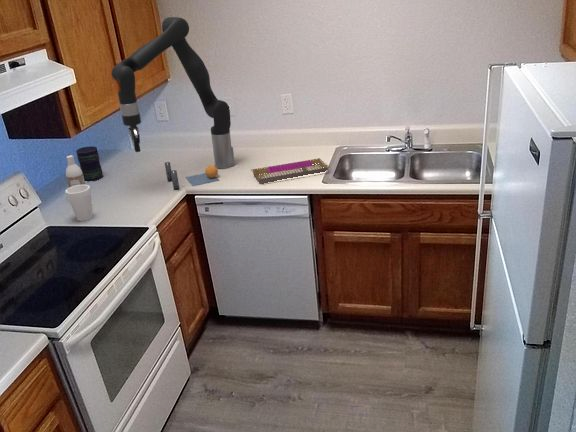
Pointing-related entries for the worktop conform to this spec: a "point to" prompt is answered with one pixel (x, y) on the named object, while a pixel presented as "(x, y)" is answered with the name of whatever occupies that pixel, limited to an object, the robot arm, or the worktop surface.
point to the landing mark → (200, 179)
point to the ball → (211, 171)
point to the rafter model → (288, 167)
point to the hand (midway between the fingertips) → (137, 151)
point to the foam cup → (80, 201)
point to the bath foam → (74, 173)
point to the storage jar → (89, 163)
